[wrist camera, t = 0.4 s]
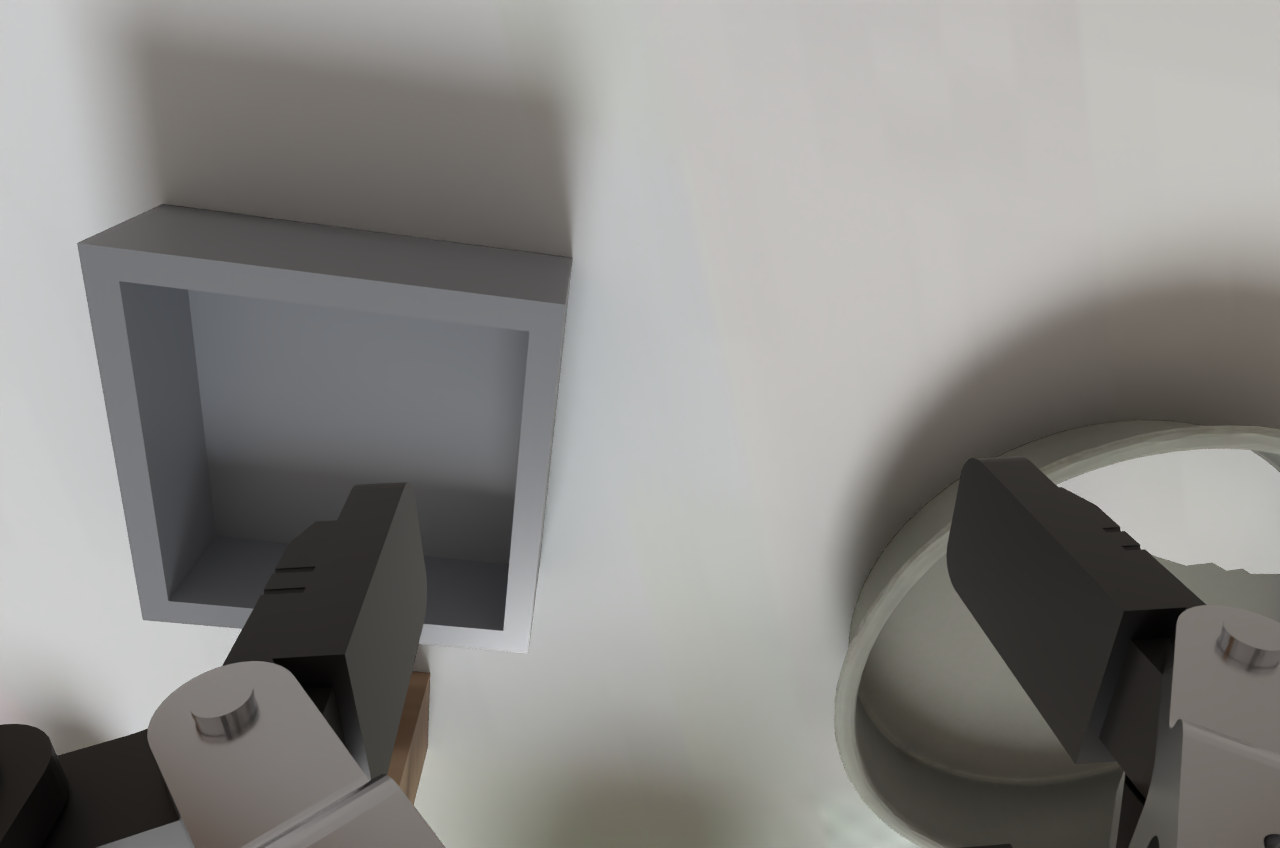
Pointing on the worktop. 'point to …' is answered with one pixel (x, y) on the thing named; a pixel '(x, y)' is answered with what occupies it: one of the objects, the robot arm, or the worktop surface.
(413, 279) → the box
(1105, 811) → the cake pan
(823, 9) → the worktop surface
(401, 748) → the brown wooden block
